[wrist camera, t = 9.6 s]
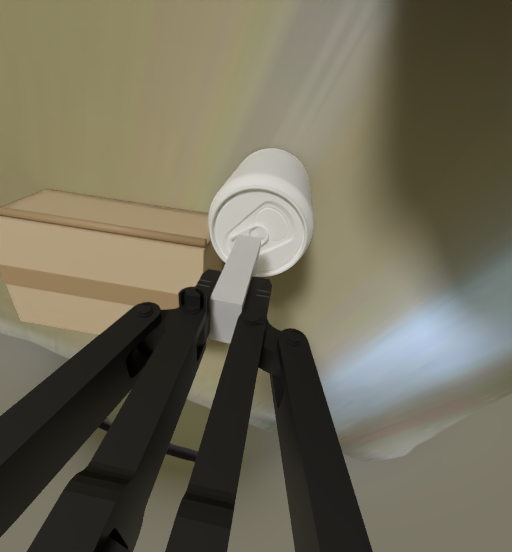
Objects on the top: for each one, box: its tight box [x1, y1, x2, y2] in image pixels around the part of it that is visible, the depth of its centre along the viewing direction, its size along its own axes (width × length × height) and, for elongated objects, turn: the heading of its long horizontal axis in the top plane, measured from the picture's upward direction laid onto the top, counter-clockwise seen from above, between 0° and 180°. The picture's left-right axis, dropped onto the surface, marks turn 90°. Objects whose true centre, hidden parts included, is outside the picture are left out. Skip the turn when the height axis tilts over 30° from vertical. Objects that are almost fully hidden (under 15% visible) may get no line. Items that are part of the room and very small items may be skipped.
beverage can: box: [208, 148, 314, 277], centre depth 25 cm, size 8×8×12 cm
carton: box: [0, 189, 223, 340], centre depth 33 cm, size 13×22×8 cm, turn 84°
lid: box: [0, 207, 207, 335], centre depth 29 cm, size 14×22×1 cm, turn 84°
